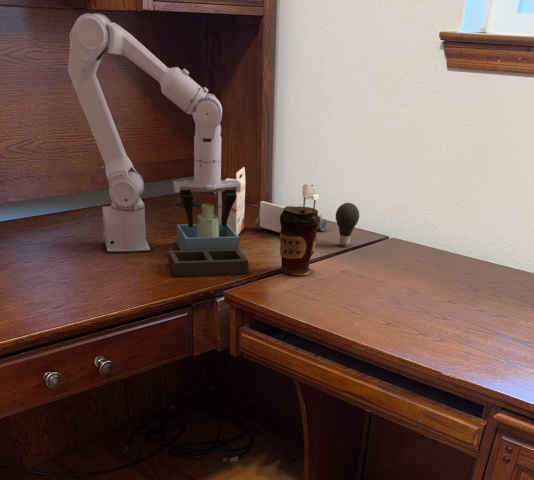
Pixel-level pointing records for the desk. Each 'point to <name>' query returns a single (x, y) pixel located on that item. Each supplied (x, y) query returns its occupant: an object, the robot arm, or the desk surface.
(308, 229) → the coffee cup
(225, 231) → the basket
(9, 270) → the desk surface
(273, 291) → the desk surface
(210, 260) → the bottle rack
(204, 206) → the bottle
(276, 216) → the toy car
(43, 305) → the desk surface
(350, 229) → the light bulb
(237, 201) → the ink cartridge box
